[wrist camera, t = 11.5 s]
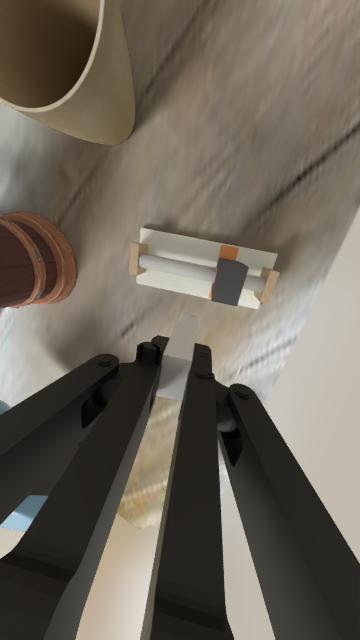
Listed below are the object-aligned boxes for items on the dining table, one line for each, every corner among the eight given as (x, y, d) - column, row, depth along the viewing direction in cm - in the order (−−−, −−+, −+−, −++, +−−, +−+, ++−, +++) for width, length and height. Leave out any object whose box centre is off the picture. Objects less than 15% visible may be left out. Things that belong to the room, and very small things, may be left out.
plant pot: (171, 60, 26) (120, -173, 12) (146, 184, 32) (91, 134, 17) (70, 28, 27) (-103, -239, 12) (64, 156, 32) (-58, 84, 18)
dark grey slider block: (211, 288, 35) (211, 300, 27) (218, 257, 33) (221, 261, 25) (230, 292, 34) (236, 306, 27) (239, 261, 32) (249, 267, 24)
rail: (137, 282, 38) (125, 288, 33) (142, 228, 35) (130, 225, 29) (256, 307, 37) (264, 318, 31) (276, 253, 33) (289, 255, 27)
